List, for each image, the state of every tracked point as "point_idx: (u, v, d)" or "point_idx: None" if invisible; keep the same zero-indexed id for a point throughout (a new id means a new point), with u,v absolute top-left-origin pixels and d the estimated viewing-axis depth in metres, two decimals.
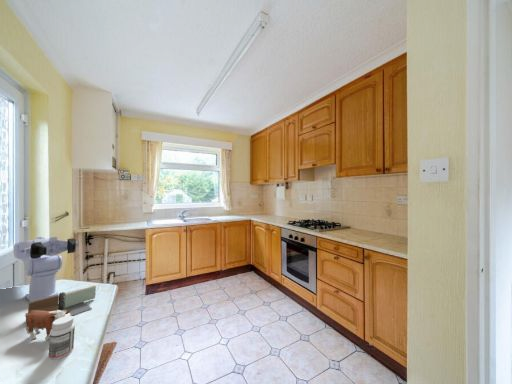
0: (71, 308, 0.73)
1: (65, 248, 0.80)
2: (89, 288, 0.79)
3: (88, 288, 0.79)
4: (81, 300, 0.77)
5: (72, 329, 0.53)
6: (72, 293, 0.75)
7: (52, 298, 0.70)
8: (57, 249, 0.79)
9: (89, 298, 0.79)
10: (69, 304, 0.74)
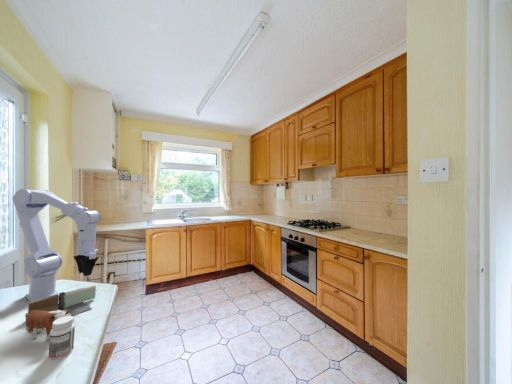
0: (71, 308, 0.73)
1: None
2: (89, 288, 0.79)
3: (88, 288, 0.79)
4: (81, 300, 0.77)
5: (72, 329, 0.53)
6: (72, 293, 0.75)
7: (52, 298, 0.70)
8: None
9: (89, 298, 0.79)
10: (69, 304, 0.74)
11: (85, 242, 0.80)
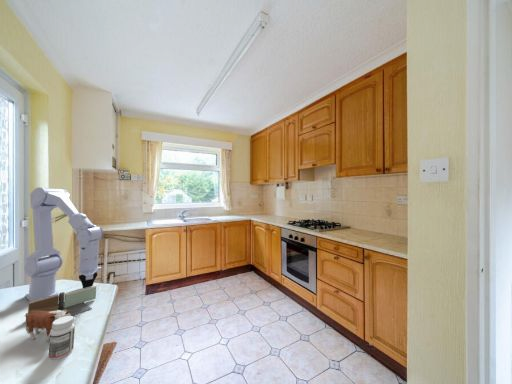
0: (71, 308, 0.73)
1: None
2: (89, 288, 0.78)
3: (88, 288, 0.78)
4: (81, 300, 0.76)
5: (72, 329, 0.53)
6: (72, 293, 0.74)
7: (52, 298, 0.70)
8: None
9: (89, 299, 0.78)
10: (69, 304, 0.74)
11: (85, 261, 0.78)
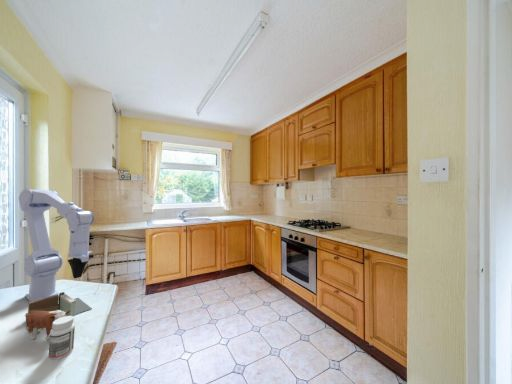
0: None
1: None
2: (68, 302, 0.68)
3: (68, 301, 0.68)
4: (65, 311, 0.69)
5: (72, 329, 0.53)
6: (62, 298, 0.71)
7: (52, 298, 0.70)
8: None
9: (67, 314, 0.68)
10: (61, 308, 0.71)
11: (77, 244, 0.77)
